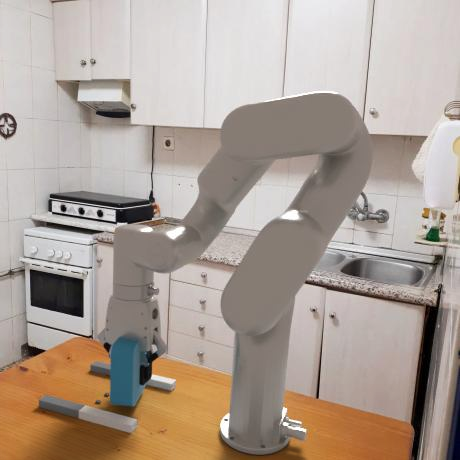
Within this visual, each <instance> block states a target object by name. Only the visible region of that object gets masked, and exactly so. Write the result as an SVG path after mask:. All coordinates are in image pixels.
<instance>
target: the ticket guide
mask: <svg viewBox="0 0 460 460" xmlns="http://www.w3.org/2000/svg"><path fill="white" fill-rule="evenodd" d="M89 367H90V369H89V371H90V372H93V373H95V374H101V375H105V376H110V370H111V363H105V362H102V361H97V360H95V361H93V362H92V363H91V364H90V365H89ZM146 386H151V387H154V388H158V389H163V390H166V391H167V390H168V391H174V389H175V388H176V387H177V380H176V379H174V378H170V377H167V376H162V375H156V374H153V373H152V377H151V379H150V380H149V381H148V382H147V384H146ZM104 396H105V397H110V392H105V393H104ZM101 402H102V401H101V400H100V399H97V400H95V404H96V405H97V404H101ZM38 408H41V409H44V410H48V411H50V412H51V411H52V412H55V413H58V414H62V415H66V416H69V417H72V418H76V419H80V420H82V421H83V420H84V421H86V422H90V423H93V424H97V425H100V426H105V427H107V428H111V429H113V430H114V429H115V430H118V431H121V432H125V433H129V434H132V433H133V432H134V431H135V430H136V429H137V428H138V419H137V418H132V417H129V416H126V415H121V414H118V413H114V412H112V411H107V410H103V409H100V408H96V407H93V406H89V405H85V404H81V403H77V402H74V401H71V400H66V399H63V398H60V397H56V396H52V395H48V394H45V395H44V396H42V397H41V398H39V399H38Z"/></svg>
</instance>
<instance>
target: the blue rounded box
mask: <svg viewBox="0 0 460 460" xmlns="http://www.w3.org/2000/svg"><path fill="white" fill-rule="evenodd" d="M142 364H143V363H142V360H141V351H140V343H139V342H138V341H132V340H127V339H123V338H118V339H117V340H116V341H115V343H114V344H113V346H112V349H111V359H110V365H111V370H110V377H109V378H110V380H109V381H110V383H109V387H110V388H109V389H110V390H109V394H110V395H109V401H110V404H111V405H113V406H114V405H115V406H126V407H135V406H137V403H138V401H139V399H140V397H141V396H142V394H143V391H144V389H145V387H146V386H147V385H146V384H147V383H145V384H144V385H143V386H142V385H140V366H141V365H142Z"/></svg>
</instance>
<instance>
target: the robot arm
mask: <svg viewBox="0 0 460 460" xmlns="http://www.w3.org/2000/svg"><path fill="white" fill-rule="evenodd" d="M367 127H368V126H367V125H366V122H365V121H364V119H363V118H362V116H361V115H360V113H359V111H358V109H357V108H356V107H355V106H354V105H353V103H352V102H351V101H350V100H349V99H348V98H347V97H345V96H344V95H342V94H341V93H338V92H335V91H328V90H321V91H313V92H308V93H301V94H297V95H290V96H286V97H282V98H275V99H269V100H263V101H260V102H253V103H246V104H244V105H240V106H238V107H236V108H235V109H233V110H232V111H230V113H228V114H227V115H226V116H225V118H224V119H223V121H222V123H221V127H220V131H219V140H220V147H219V149H218V150H217V151H216V152H215V154H214V155H213V156H212V157H211V159H210V160H209V161H208V162H207V164H206V165H205V166H204V167H203V168H202V170H201V171H200V173H199V174H198V177H197V186H198V195H197V197H196V201H195V202H194V204H193V205H192V207H191V208H190V210H189V211H188V212H187V214H186V215H185V216H184V217H183V218H182V219H181V221H180V222H179V223H178V224H177V225H175V226H172V227H169V228H165V229H162V230H159V231H154V229H153V228H152V227H151V226H149V225H145V224H136V223H135V224H134V223H133V224H130V223H129V224H122V225H120V226H118V227H116V228H115V230H114V233H113V249H112V250H113V257H112V258H113V260H112V262H113V263H112V268H113V269H112V274H113V275H112V294H110V296H109V299H108V303H107V308H106V314H105V315H106V317H105V322H104V323H105V325H104V328H103V329H102V330H101V331H100V332H99V333H98V334H97V335H96V338H97V340H98V341H99V342H100V344H101V345H102V346H103V348H104V350H105V351H106V352H107V357H108V359H110V360H111V349H112V346H113V344H114V343H115V341H116V340H117V339H118V338H123V339H127V340H132V341H138V342H139V343H140V351H141V360H142V363H143V364H142V365H141V366H140V385H142V386H143V385H144V384H145V383H147V382H148V381H149V380H150V379H151V377H152V374H153V363H154V361H156V360H157V359H158V358H160V357H162V356H163V355H164V354H165V353H167V352H168V351H169V347H168V346H167V344H166V343H165V341H164V340H163V338H162V336H161V335H162V329H161V327H162V326H161V315H160V314H161V312H160V311H161V310H160V305H159V300H158V297H157V296H158V295H159V294H160V288H159V287H156V286H155V281H154V279H155V278H154V277H155V276H154V274H155V273H158V274H161V275H162V274H163V275H165V274H171V273H173V272H174V273H175V272H176V271H177V270H180V269H181V268H183V267H185V266H187V265H188V264H189V265H190V264H191V263H193V262H195V261H196V260H197V259H199V258H200V257H201V256H202V255H203V254H204V253H205V252H206V251H207V250H208V248H209V247H210V246H211V245H212V244H213V243H214V241H215V240H216V239H217V238H218V237H219V235H220V234H221V232H222V231H223V230H224V228H225V227H226V226H227V224H228V222H229V221H230V219H231V218H232V216H233V215H234V213H235V211H236V210H237V208H238V206H239V205H240V204H241V203H242V201H243V200H244V199H245V197H246V196H247V195H248V194H249V193H250V192H251V191H252V189H253V188H254V186H256V184H257V183H258V181H260V180H261V178H262V177H263V176H264V175H265V174H266V172H267V171H268V170H269V168H271V167H272V165H274V162H276V161H277V160H283V159H291V158H298V157H299V158H300V157H304V156H313V155H315V156H316V155H318V157H317V161H316V164H315V165H314V167H313V169H312V170H311V172H310V173H309V174H308V176H307V177H306V179H305V180H304V181H303V183H302V185H301V187H300V189H299V191H298V192H297V194H296V195H295V197H294V198H293V199H292V201H291V203H290V204H289V206H288V207H287V209H286V210H284V212H283V213H281V214H279V216H276V217H275V218H273V219H271V220H270V221H268V222H267V223H266V225H264V227H263V228H262V229H261V230H260V231H259V232H258V234H257V236H256V237H255V239H254V240H253V241H252V243H251V244H250V246H249V248H248V249H247V251H246V252H245V254H244V256H243V257H242V258H241V260H240V262H239V263H238V265H237V267H236V269H235V270H234V271H233V273H232V275H231V276H230V278H229V280H228V281H227V283H226V284H225V286H224V288H223V289H222V290H223V291H222V293H221V297H220V302H219V303H220V305H219V306H220V311H221V312H220V313H221V316H222V318H223V321H224V322H225V324H226V325H227V327H228V328H230V330H232V331H233V332H234V338H233V340H234V341H233V353H232V355H233V356H232V371H231V384H230V402H229V413H227V414H226V415H224V416H223V418H222V419H221V421H220V425H219V434H220V437H221V438H222V440H223V441H224V443H226V445H228V446H229V447H231V448H232V449H235V450H236V451H239V452H241V453H243V454H244V453H246V454H250V455H259V456H260V455H261V456H262V455H270V454H274V453H276V452H279V451H280V450H283V449H284V448H285V447H286V446H287V445H288V443H289V442H290V438H294V439H295V440H299V441H303V442H306V438H307V431H308V430H307V429H306V428H303V427H302V426H303V421H301V420H296V419H295V420H294V419H290V417H289V416H287V414H288V408H285V407H284V405H285V391H286V383H287V381H286V379H287V371H288V357H289V349H290V339H291V338H290V337H291V331H292V330H291V329H292V323H293V316H294V311H295V302H296V296H297V294H299V292H300V290H301V288H302V287H303V286H304V284H305V283H306V281H307V280H308V278H309V277H310V275H311V274H312V273H313V271H314V270H315V268H316V267H317V265H318V264H319V263H320V261H321V259H323V257H324V255H325V253H326V250H327V248H328V246H329V244H330V242H331V240H332V239H333V237H334V236H335V234H336V233H337V231H338V230H339V229H340V227H341V225H342V224H343V222H344V221H345V220H346V218H347V216H348V215H349V213H350V211H351V209H352V208H353V207H354V205H355V203H356V202H357V200H358V199H359V197H360V196H361V194H362V192H363V190H364V189H365V186H366V185H367V182H368V180H369V177H370V175H371V171H372V167H373V160H374V159H373V158H374V147H373V141H372V138H371V135H370V132H369V129H368V128H367ZM153 345H154V346H155V347H156V350H155V351H154V350H153Z"/></svg>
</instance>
